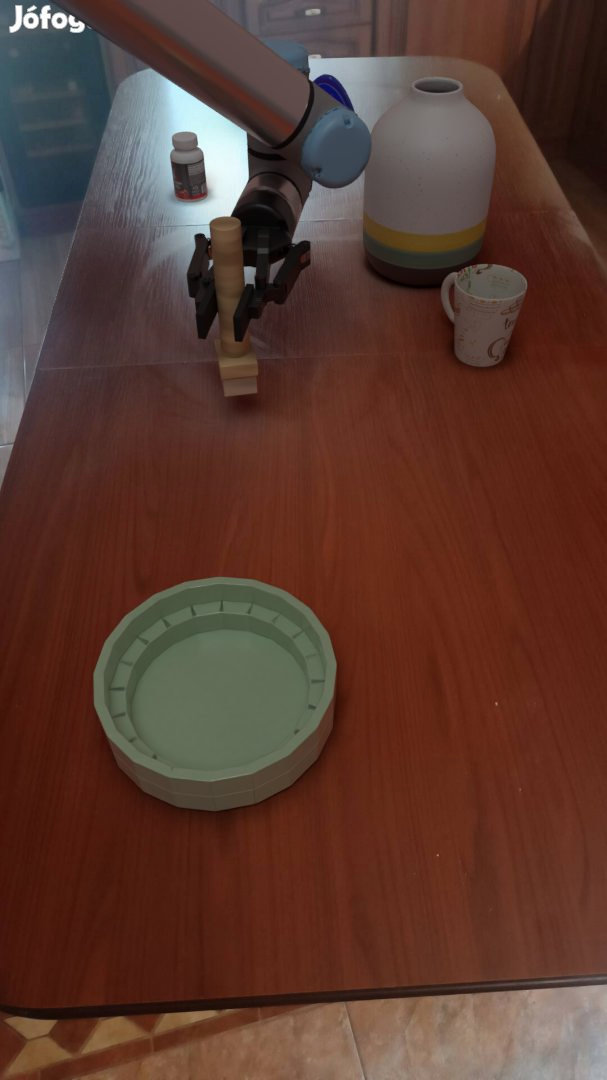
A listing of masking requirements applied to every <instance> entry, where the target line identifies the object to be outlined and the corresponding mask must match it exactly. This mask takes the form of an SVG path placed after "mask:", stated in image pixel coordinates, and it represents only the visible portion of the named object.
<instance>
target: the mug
mask: <svg viewBox="0 0 607 1080" xmlns="http://www.w3.org/2000/svg"><path fill="white" fill-rule="evenodd" d="M452 286H453V290H454V291H453V301H454V302H453V307H454V308H453V309H452V306H451V302H450V291H451V288H452ZM527 291H528V281H527V279H526V277H525V276H524V275H522V273H520V271H517V270H516V269H513V268H511V267H509V266H504V265H501V264H494V263H493V264H492V263H480V264H473V265H472V266H470V267H467V268H464V269H463V270H461V271H460V272H459V273H457V272H453V273H451V274H449V275H448V276H447V277H446V278H445V280H444V282H443V283H442V284H441V288H440V299H441V300H440V301H441V304H442V307H443V310H444V312H445V314H446V316H447V317H448V319H449V320H450V321H451V323H452V324H453V325H454V326H453V328H454V329H453V330H454V332H453V334H454V339H453V340H454V345H453V346H454V355H455V357H456V358H457V359H458V360H459V361H460V362H462V363H464V364H466V365H469V366H473V367H478V368H479V367H480V368H482V367H483V368H485V367H491V366H495V365H497V364H498V363H500V362H501V361H503V359H504V356H505V354H506V351H507V348H508V345H509V343H510V340H511V337H512V333H513V331H514V328H515V325H516V322H517V319H518V317H519V313H520V312H521V311H520V310H521V308H522V305H523V303H524V299H525V297H526V294H527ZM453 310H454V311H453Z"/></svg>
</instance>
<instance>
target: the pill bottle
mask: <svg viewBox="0 0 607 1080" xmlns="http://www.w3.org/2000/svg"><path fill="white" fill-rule="evenodd" d="M171 145H172V147H173V149H172V150H171V151H170V153H169V159H170V160H169V161H170V167H171V175H172V183H173V188H174V189H173V190H174V196H175V197H174V198H175V199H176V200H177V201H178V202H181V203H187V204H193V203H199V202H201V201H202V202H203V201H204V200H206V199H207V198H208V185H207V184H208V183H207V175H206V165H205V154H204V151H203V150H202V149H201V148H200V147H198V146H199V141H198V135H197V133H195V132H193V131H178V132H176V133H173V134H172V136H171Z"/></svg>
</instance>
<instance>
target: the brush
mask: <svg viewBox="0 0 607 1080" xmlns="http://www.w3.org/2000/svg"><path fill="white" fill-rule="evenodd" d="M230 216H231V215H229V216H228V215H227V216H225V215H224V216H218V217H215V218H213V219H211V220H210V221H209V223H208V226H209V227H208V228H209V238H211V248H212V265H213V269H214V279H215V289H216V300H217V310H218V312H217V316H218V317H217V319H218V328H219V337H217V338H216V337H215V338H213V343H214V352H215V357H216V360H217V366H218V371H219V376H220V381H221V385H222V391H223V395H224V397H225V398H227V397H234V396H235V397H236V396H242V395H252V394H257V393H258V380H257V379H258V377H257V376H259V362H258V359H257V355H256V351H255V347H254V344H253V340H252V337H251V334H249V327H248V328H247V331H246V334H245V336H244V339H243V341H242V342H235V339H234V327H233V315H234V313H235V310H236V308H237V306H238V303H239V301H240V298H241V296H242V293H243V291H244V289H245V286H246V279H245V267H244V263H243V248H242V233H241V222H240V220H239V219H237V218H235V217H230Z"/></svg>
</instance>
